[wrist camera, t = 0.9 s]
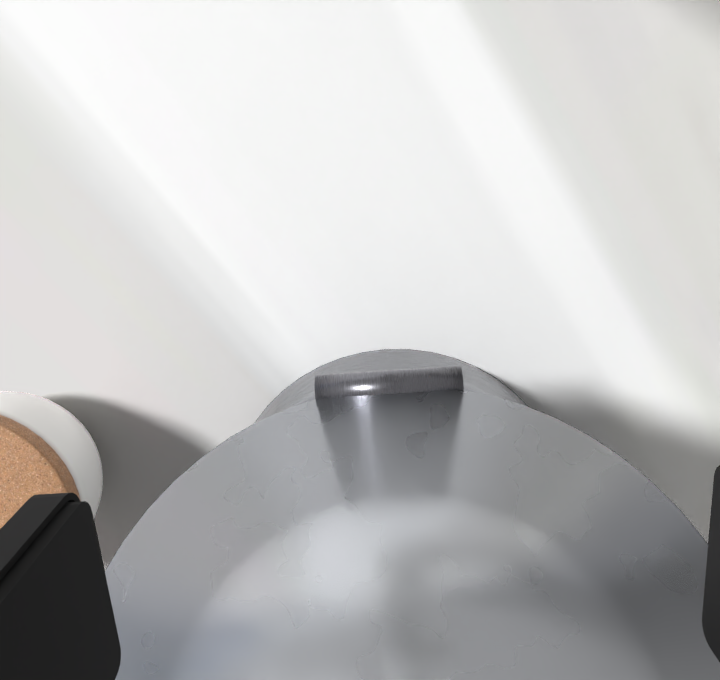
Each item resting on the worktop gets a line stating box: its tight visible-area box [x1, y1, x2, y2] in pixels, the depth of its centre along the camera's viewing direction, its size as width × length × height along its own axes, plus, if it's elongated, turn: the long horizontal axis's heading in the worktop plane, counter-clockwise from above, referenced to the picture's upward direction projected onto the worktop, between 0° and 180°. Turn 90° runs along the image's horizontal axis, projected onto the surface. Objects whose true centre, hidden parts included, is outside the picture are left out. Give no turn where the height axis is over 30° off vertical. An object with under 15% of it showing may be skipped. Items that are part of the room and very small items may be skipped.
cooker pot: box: [254, 349, 528, 424], centre depth 37 cm, size 26×20×10 cm
